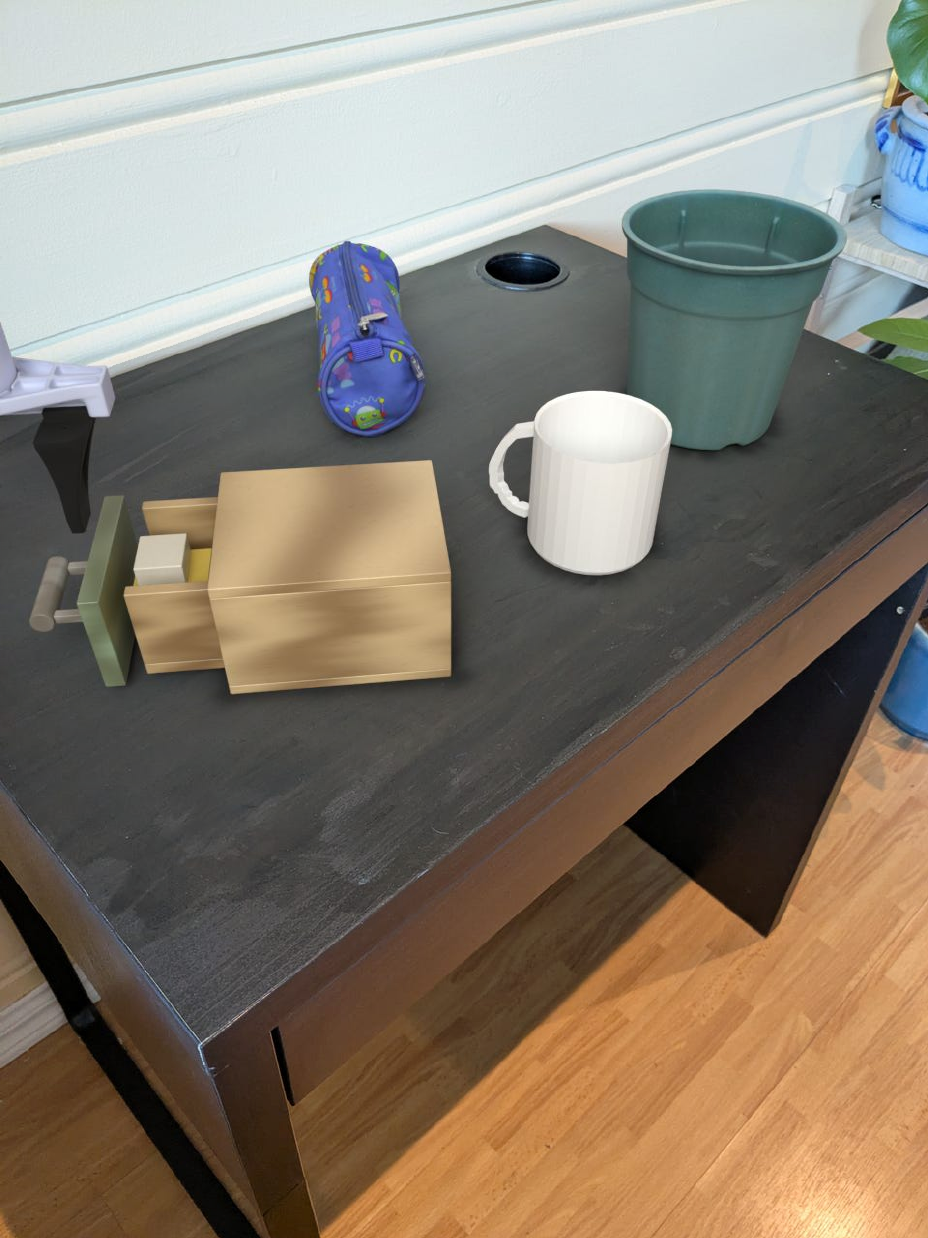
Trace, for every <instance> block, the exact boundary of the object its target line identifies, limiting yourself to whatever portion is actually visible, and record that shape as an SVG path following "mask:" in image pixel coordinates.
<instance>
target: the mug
mask: <svg viewBox="0 0 928 1238" xmlns="http://www.w3.org/2000/svg"><path fill="white" fill-rule="evenodd" d="M671 436H672V428H671V424H670V422H669V420H668V419H667V417H666V416H665V415H664V414H663V413H662V412H661V411H660V410H659V409H657V408H656V407H654V406H653V405H651V404H650V403H647V402H645V401H643V400H641V399H638V398H635V397H632V396H629V395H627V394H625V393H620V392H616V391H615V392H614V391H606V390H585V391H576V392H572V393H566V394H563V395H560V396H557V397H555V398H553V399H551V400H549V401H547V402H546V403H545V404H544V405H542V406H541V407H540V408H539V410H538V411H537V412H536V414H535V417H534V420H533V421H526V422H520V423H516V424H515V425H514V426H513V427H512V428H511V429H510V430H509V431H508V432H507V433H506V434H505V435H504V436H503V438H502V439H501V441H500V442H499V444H498V445H497V447H496V448H495V450H494V453H493V454H492V457H491V459H490V462H489V465H488V474H489V487H490V488H491V489H492V491H493V492H494V494H497V497H498V499H499V501H500V503H501V505H502V506H504V507H505V508H506V509H507V510H508V511H510V512H511V513H513V514H515V515H516V516H518V517H521V518H524V519H525V518H527V524H526V525H527V526H526V527H527V528H526V530H527V531H526V532H527V537H528V541H529V544H530V545H531V546H532V548H533V549H534V551H535V552H536V553H537V555H539V556H540V558H542V559H543V560H544V561H545V562H547V563H549V564H551V565H552V566H554V567H556V568H559V569H560V570H563V571H566V572H570V573H574V574H579V575H586V576H604V575H605V576H606V575H613V574H618V573H621V572H624V571H626V570H628V569H632V568H633V567H634V566H635V565H637V564H639V563H640V562H641V561H642V560H643V559H644V558H645V557H646V556H647V555H648V554H649V552H650V550H651V549H652V546H653V543H654V537H655V531H656V525H657V521H658V514H659V508H660V502H661V499H662V498H661V497H662V492H663V485H664V480H665V475H666V469H667V464H668V458H669V452H670V446H671V444H670V442H671ZM525 438H532V448H531V449H532V450H531V451H532V452H531V464H530V465H531V467H530V480H529V481H530V482H529V495H528V502H526V501H523V500H521V501H520V499H519V498H518V497H517V496H516V495H513V491H512V490H510V488H509V485H508V483H507V482H506V481H505V472H504V462H505V458H506V454H507V451H508V449H509V447H510V446H511V445H512V444H513V443H514V442H515V441H516V440H518V439H525Z"/></svg>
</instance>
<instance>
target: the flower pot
mask: <svg viewBox="0 0 928 1238" xmlns="http://www.w3.org/2000/svg"><path fill="white" fill-rule="evenodd" d="M621 230H622V233H623V235H624V237H625V239H626V274H627V278H628V280H629V283H630V285H629V319H628V320H629V321H628V349H627V350H628V353H627V382H626V383H627V385H626V395H629V396H632V397H635V398H638V399H641V400H643V401H645V402H647V403H650V404H651V405H653V406H654V407H656V408H657V409H659V410H660V411H661V412H662V413H663V414H664V415H665V416H666V417H667V419H668V420H669V422H670V424H671V428H672V436H671V442H670V445H672V446H675V447H678V448H679V447H680V448H683V449H689V450H700V451H721V450H722V449H723V448H725V447H727V446H729V445H734V444H737V445H739V446H741V447H742V446H746V445H749V444H752V443H754V442H755V441H757V440H758V439H760V438H761V437H762V436H763V435H764V434H765V433H766V432H767V430H768V429H769V427H770V425H771V423H772V420H773V417H774V414H775V411H776V409H777V405H778V402H779V399H780V397H781V394H782V391H783V388H784V385H785V383H786V379H787V377H788V374H789V371H790V368H791V366H792V362H793V360H794V357H795V354H796V351H797V348H798V345H799V343H800V339H801V337H802V334H803V332H804V329H805V327H806V324H807V322H808V318H809V315H810V313H811V310H812V307H813V304H814V302H815V301H816V300H817V299H818V297H820V295H821V293H822V290H823V288H824V285H825V282H826V280H827V277H828V275H829V271H830V269H831V267H832V263H833V261H834V260H835V259H836V258H837V257H839V256H840V254H841V253H842V252H843V250H844V249H845V247H846V244H847V243H848V242H847V241H848V234H847V232H846V230H845V228H844V227H843V226H842V224H840V222H839V221H838V220H837V219H836V218H834V217H832V216H831V215H830V214H828V213H826V212H825V211H822V210H820V209H818V208H816V207H813V206H811V205H808V204H805V203H802V202H800V201H796V200H792V199H789V198H785V197H782V196H777V195H776V196H775V195H771V194H766V193H759V192H754V191H744V190H736V189H735V190H734V189H713V188H712V189H709V188H708V189H688V190H679V191H671V192H667V193H663V194H659V195H655V196H651V197H648V198H646V199H644V200H640V201H639V202H637V203H635V204H633V205H632V206H630V207H629V208H628V209H627V210H626V211H625V212H624V213H623V216H622V218H621Z"/></svg>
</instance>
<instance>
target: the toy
mask: <svg viewBox="0 0 928 1238" xmlns="http://www.w3.org/2000/svg"><path fill="white" fill-rule="evenodd" d="M211 553H212V548H208V549H193V550H190V545H189V541H188V537H187V534H186V533H183V534H168V535H152V536H149V535H140V536H139V541H138V550H137V554H136V559H135V564H134V569H133V570H134V573H135V580H134V585H133V586H142V585H157V584H171V583H186V582H200V581H208V579H209V570H210V562H211Z"/></svg>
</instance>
